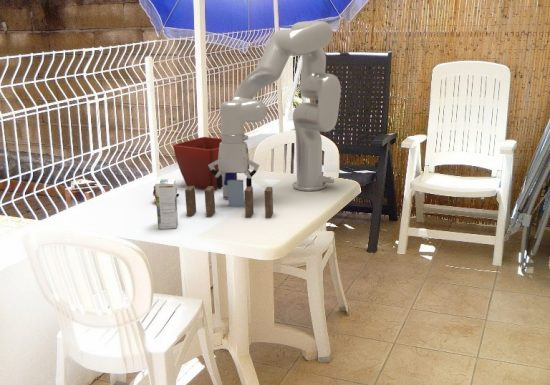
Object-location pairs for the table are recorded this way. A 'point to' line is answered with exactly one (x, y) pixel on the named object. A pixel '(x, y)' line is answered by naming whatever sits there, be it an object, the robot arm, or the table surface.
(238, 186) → the domino
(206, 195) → the domino
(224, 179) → the energy drink
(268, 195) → the domino
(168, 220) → the syrup box
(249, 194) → the domino
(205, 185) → the plant pot
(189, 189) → the domino
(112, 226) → the table surface
